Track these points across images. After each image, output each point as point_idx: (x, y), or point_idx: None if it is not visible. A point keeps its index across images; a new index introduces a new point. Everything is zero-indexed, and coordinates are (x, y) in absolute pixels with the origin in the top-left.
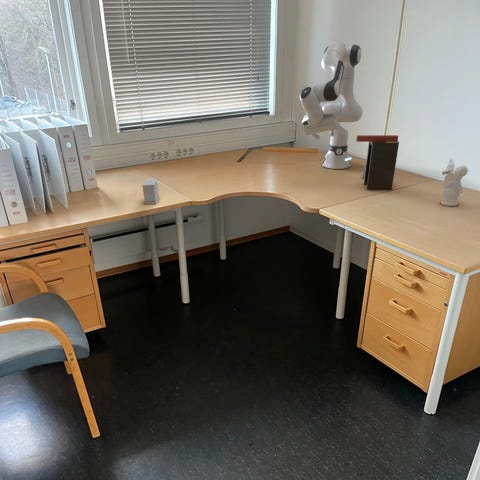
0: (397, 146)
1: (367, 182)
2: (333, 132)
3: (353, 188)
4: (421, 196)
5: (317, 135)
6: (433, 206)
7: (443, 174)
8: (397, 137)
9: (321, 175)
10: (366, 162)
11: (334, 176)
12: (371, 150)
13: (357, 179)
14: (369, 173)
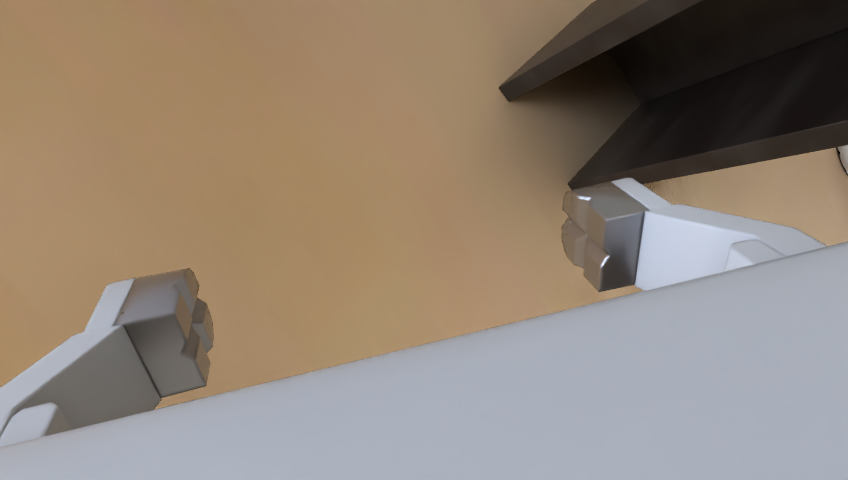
0: None
1: (600, 179)
2: (661, 207)
3: (508, 224)
4: None
5: (154, 337)
6: (840, 219)
7: None
8: None
9: (79, 57)
10: (609, 26)
11: (210, 20)
12: (845, 123)
13: (407, 3)
14: (664, 178)
